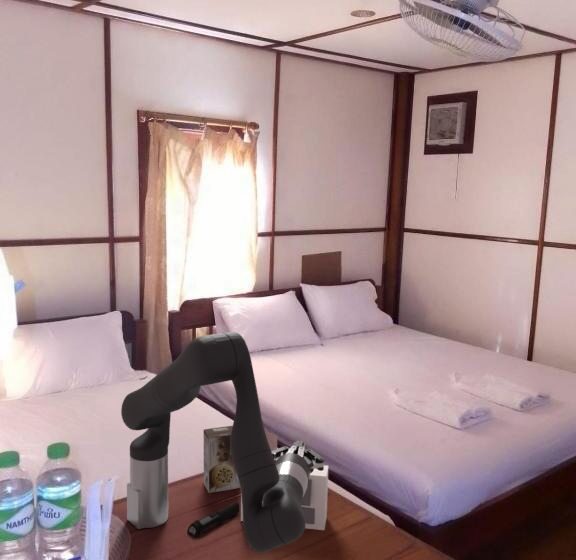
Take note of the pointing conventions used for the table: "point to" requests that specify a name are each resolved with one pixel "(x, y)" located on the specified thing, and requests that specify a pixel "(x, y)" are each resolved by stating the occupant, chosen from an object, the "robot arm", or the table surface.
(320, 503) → the white switch box
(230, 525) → the table surface
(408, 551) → the table surface
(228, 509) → the electric trimmer
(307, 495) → the outer rocker
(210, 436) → the coffee box
